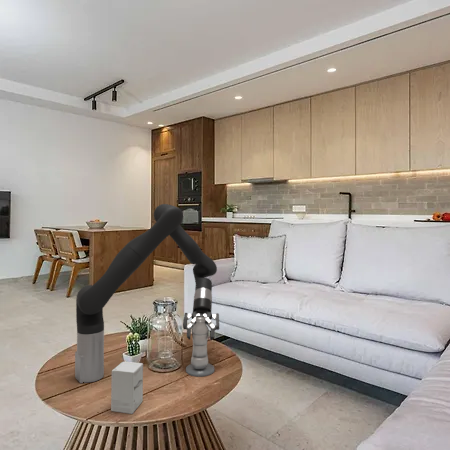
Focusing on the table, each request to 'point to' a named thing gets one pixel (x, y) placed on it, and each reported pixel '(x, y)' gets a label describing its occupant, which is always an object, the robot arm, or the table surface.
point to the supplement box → (127, 387)
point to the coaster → (200, 371)
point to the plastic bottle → (199, 343)
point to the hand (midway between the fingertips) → (200, 338)
